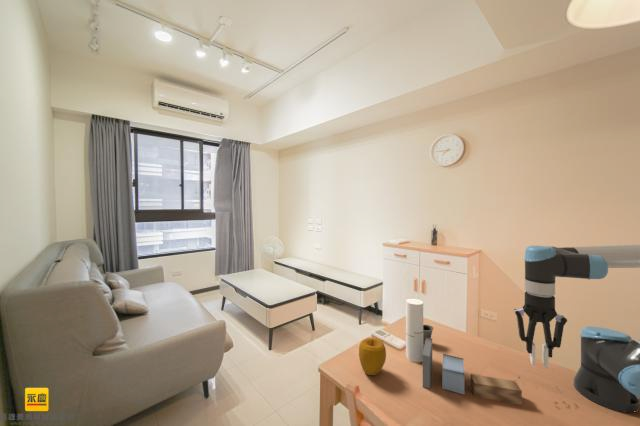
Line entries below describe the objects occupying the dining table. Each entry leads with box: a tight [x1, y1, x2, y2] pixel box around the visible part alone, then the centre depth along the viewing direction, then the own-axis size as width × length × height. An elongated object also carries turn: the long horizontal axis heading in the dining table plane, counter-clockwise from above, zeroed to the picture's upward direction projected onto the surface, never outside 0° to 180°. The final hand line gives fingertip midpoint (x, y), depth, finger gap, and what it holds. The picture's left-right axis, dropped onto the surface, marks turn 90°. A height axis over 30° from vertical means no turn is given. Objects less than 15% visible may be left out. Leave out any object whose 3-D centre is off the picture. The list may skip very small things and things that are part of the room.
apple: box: [358, 337, 387, 376], centre depth 102 cm, size 11×11×13 cm
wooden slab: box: [469, 373, 523, 406], centre depth 88 cm, size 14×5×5 cm, turn 74°
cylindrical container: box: [405, 298, 424, 363], centre depth 111 cm, size 7×7×25 cm
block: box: [441, 353, 465, 395], centre depth 94 cm, size 7×10×8 cm
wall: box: [422, 337, 433, 390], centre depth 98 cm, size 2×14×12 cm, turn 152°
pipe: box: [423, 324, 434, 346], centre depth 122 cm, size 6×13×8 cm, turn 108°
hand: (538, 364), depth 83 cm, fingers open, 3 cm apart
